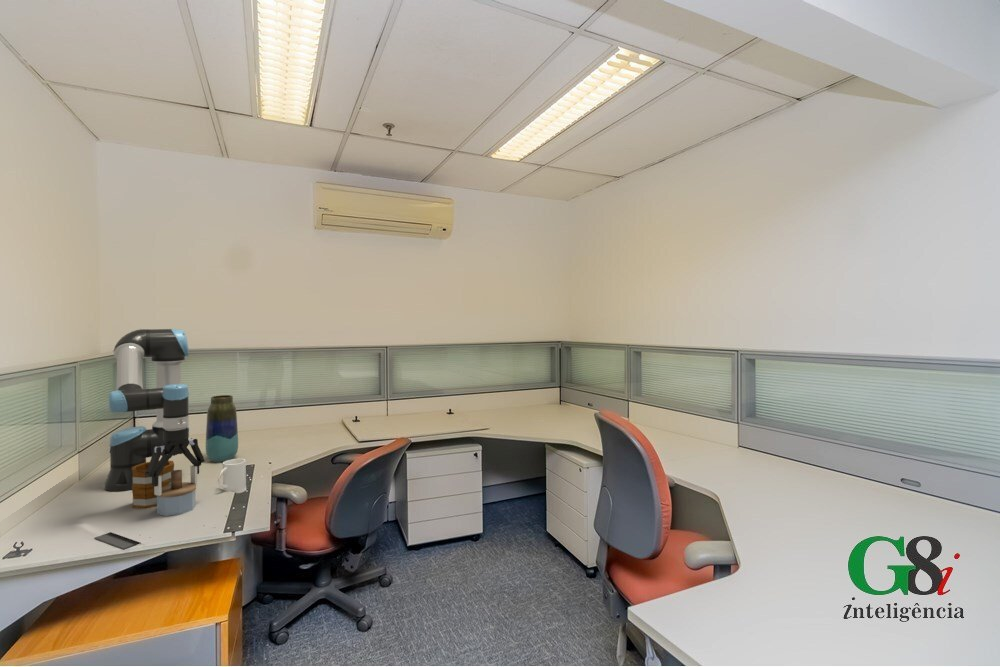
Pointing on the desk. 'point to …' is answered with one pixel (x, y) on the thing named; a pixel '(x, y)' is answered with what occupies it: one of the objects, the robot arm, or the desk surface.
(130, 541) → the mat
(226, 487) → the mug
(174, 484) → the lid
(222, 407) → the vase
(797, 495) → the desk surface
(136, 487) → the mug
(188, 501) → the bowl
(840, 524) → the desk surface
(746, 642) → the desk surface
